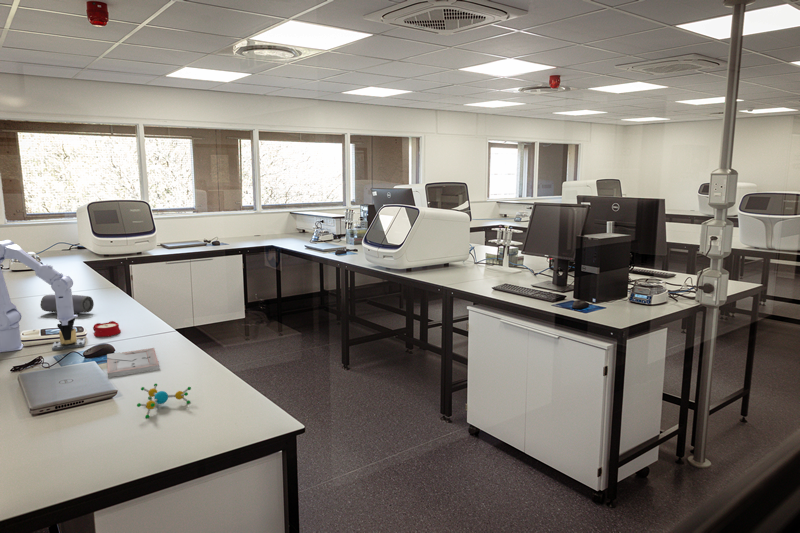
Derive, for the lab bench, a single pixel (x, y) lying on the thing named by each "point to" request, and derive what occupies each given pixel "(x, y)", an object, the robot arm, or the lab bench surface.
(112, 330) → the alarm clock
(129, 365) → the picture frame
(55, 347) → the block
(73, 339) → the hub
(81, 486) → the lab bench surface
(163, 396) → the molecular model
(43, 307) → the bluetooth speaker
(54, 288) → the robot arm
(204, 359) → the lab bench surface
